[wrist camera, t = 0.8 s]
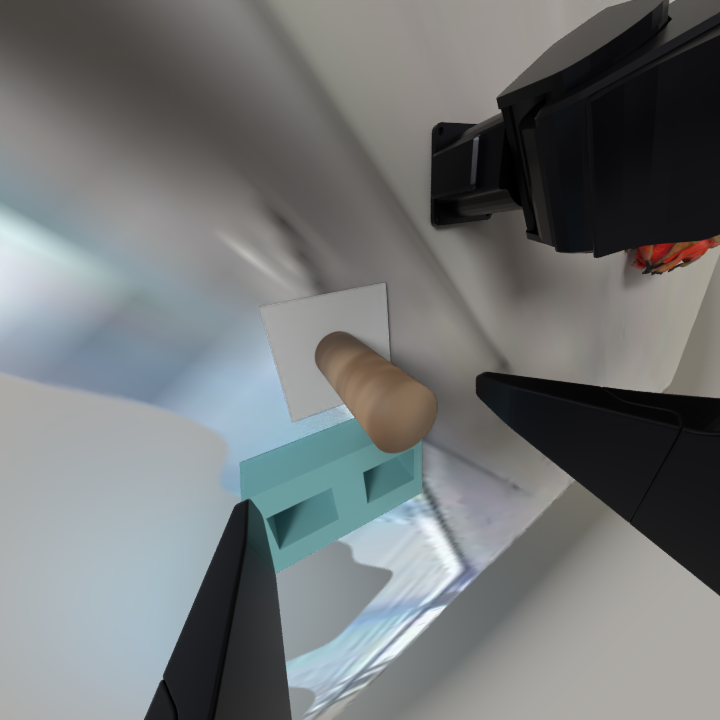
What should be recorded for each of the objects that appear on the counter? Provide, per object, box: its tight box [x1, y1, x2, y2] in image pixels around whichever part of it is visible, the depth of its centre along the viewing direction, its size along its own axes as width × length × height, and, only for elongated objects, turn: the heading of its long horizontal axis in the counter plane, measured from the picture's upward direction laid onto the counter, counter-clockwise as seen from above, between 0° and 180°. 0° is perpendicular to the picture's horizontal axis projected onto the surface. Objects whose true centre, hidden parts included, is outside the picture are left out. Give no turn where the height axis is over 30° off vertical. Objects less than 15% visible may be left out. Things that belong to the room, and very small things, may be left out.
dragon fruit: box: [626, 235, 720, 275], centre depth 33 cm, size 8×8×12 cm
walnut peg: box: [315, 331, 438, 453], centre depth 17 cm, size 4×4×10 cm
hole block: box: [240, 418, 422, 573], centre depth 25 cm, size 16×10×4 cm, turn 98°
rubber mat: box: [259, 282, 390, 422], centre depth 22 cm, size 10×10×1 cm
